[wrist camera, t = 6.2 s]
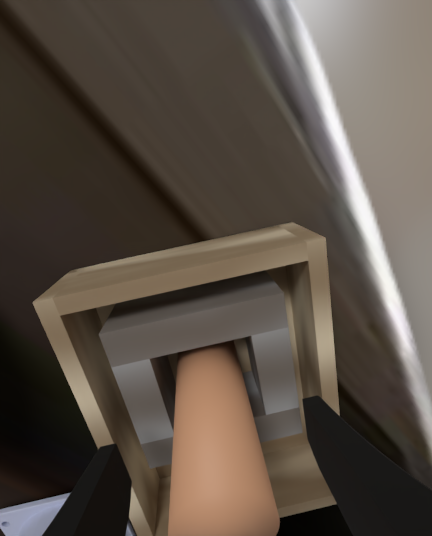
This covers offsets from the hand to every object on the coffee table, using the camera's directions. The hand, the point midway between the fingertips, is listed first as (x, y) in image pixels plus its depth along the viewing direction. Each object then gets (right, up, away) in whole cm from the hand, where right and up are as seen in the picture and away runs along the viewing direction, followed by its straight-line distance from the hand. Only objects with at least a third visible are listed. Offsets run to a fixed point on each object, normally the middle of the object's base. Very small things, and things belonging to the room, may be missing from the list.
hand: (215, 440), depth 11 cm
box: (0, 0, +7) cm, 7 cm away
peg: (-1, +2, +6) cm, 6 cm away
